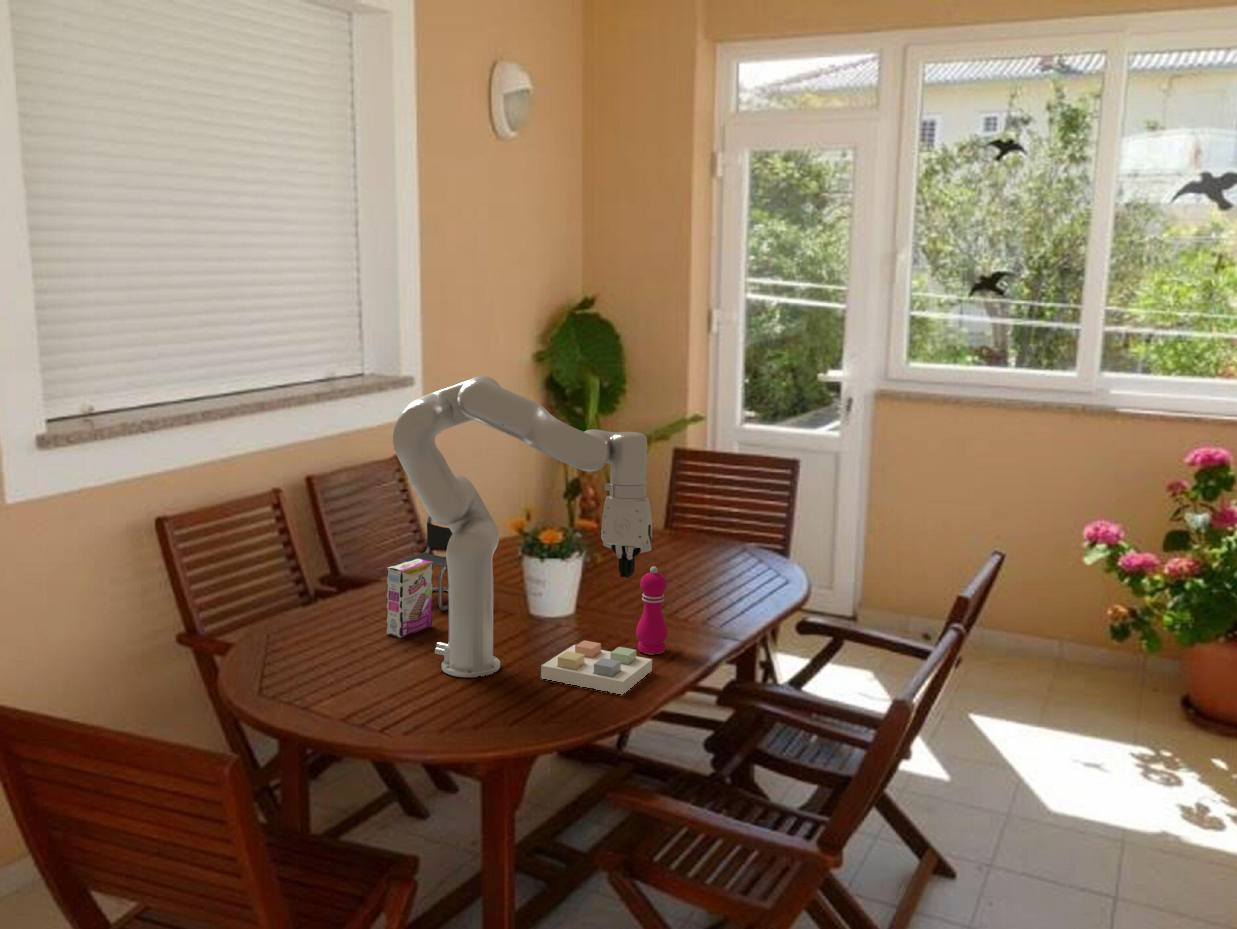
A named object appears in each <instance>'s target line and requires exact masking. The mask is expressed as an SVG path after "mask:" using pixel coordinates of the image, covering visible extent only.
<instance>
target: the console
mask: <svg viewBox="0 0 1237 929" xmlns="http://www.w3.org/2000/svg"><path fill="white" fill-rule="evenodd" d="M576 645H577V644H573V645H571V646H570V647H568V648H566V649H565V650H564V651H562V652H561V653H559V654H557V655H555V656H554V657H553V658H551V659H550V660H548V661H546V662H545V663H543V664H541V666H540V667H541V668H540V669H541V670H540V679H541V678H542V679H541V680H543V679H547V680H546V681H548V680H552V681H551V682H553V681H557V682H563V683H565V684H564V685H567V684H571V685H570V686H572V685H577V686H580V687H579V688H582V687H587V688H594V689H596V690H595V691H597V690H601V691H600V692H602V691H608V692H610V693H609V694H612V693H616V694H615V695H617V694H621V695H620V696H622V695H623V694H624V693H625V694H626V692H627V691H628V690H629V691H630V690H631V689H630V688H632V687H633V686H634V685H635V684H637V682H639V681H640V680H641V679H643V678H644V677H645V676H646V675H647V674H648V673H650V672H651V671H652V672H653V670H652V669H653V658H648V657H642V656H637V655H636V660H635V661H634V662H633V663H631V664H630V665H624V664H621V672H619V673H618V674H617V675H615V676H614V677H608V676H602V675H597V674H594V664H595V663H596V662H598V661H599V660H600V659H602V658H606V659H610V653H611V652H612V651H610V650H609V651H608V650H604V649H601V653H600V654H599V655H598V656H596V657H595V658H593V659H592V658H587V657H584V665H583V666H581V667H580V668H579V669H577V670H572V669H567V668H562V667H558V657H559V656H560V655H562V654H563V653H565V652H566V651H569V652H574V653H575V646H576ZM650 674H651V673H650ZM645 678H646V677H645ZM645 678H644V679H645ZM644 679H643V680H644ZM557 682H556V683H557ZM640 682H641V681H640ZM640 682H639V683H640ZM637 685H638V684H637ZM577 686H576V687H577ZM635 686H636V685H635ZM635 686H634V687H635ZM634 687H633V688H634ZM587 688H586V689H587ZM633 688H632V689H633ZM629 691H628V692H629ZM628 692H627V693H628ZM625 694H624V695H625ZM624 695H623V696H624Z"/></svg>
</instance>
